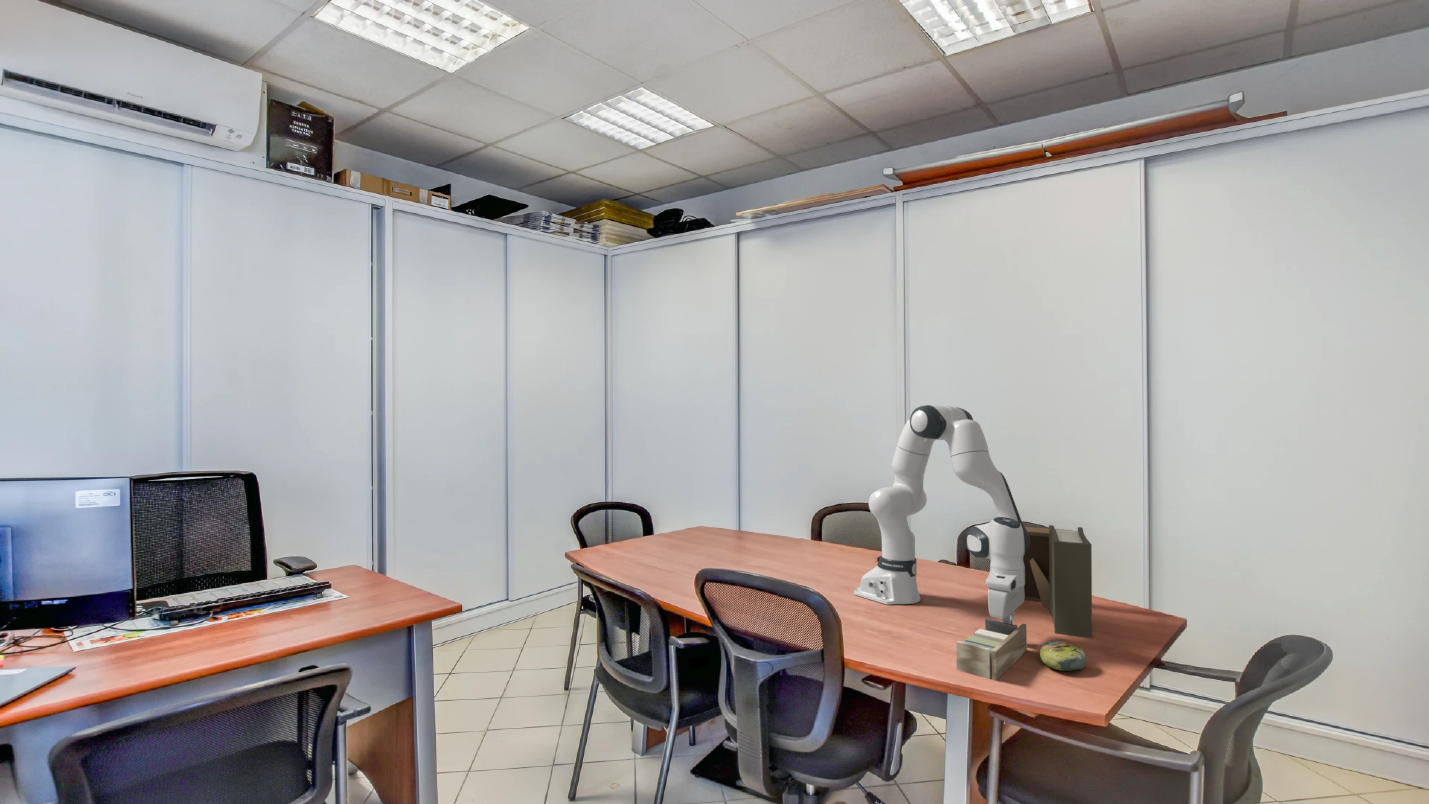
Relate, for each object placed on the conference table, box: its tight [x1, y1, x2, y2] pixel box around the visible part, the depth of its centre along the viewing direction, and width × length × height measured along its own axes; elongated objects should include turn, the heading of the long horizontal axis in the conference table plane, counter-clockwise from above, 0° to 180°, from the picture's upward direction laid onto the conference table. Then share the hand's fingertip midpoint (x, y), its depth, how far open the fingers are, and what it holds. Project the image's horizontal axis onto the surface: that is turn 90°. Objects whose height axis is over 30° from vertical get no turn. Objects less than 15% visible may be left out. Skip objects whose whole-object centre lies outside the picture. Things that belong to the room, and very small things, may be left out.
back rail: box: [956, 623, 1028, 682], centre depth 163 cm, size 10×25×7 cm, turn 138°
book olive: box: [964, 635, 1001, 648], centre depth 160 cm, size 8×4×6 cm, turn 48°
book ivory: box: [973, 628, 1009, 642], centre depth 165 cm, size 8×4×6 cm, turn 48°
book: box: [1048, 524, 1093, 639], centre depth 188 cm, size 22×9×28 cm, turn 155°
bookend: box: [984, 618, 1018, 635], centre depth 172 cm, size 8×7×7 cm
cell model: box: [1039, 640, 1088, 672], centre depth 159 cm, size 10×8×14 cm
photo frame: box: [1023, 526, 1074, 610], centre depth 208 cm, size 15×22×25 cm
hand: (1007, 626), depth 174 cm, fingers closed
